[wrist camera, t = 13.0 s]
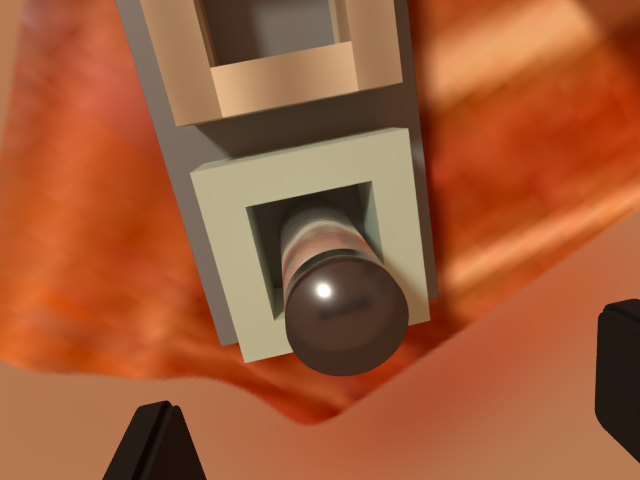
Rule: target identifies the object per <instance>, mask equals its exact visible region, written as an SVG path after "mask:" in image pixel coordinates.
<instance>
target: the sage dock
mask: <svg viewBox="0 0 640 480" xmlns="http://www.w3.org/2000/svg"><path fill="white" fill-rule="evenodd" d="M190 175H191V179H192V182H193V186H194V189H195V193H196V196H197V200H198V203H199V207H200V210H201V213H202V217H203V220H204V224H205V227H206V231H207V234H208V238H209V241H210V245H211V248H212V251H213V255H214V258H215V262H216V265H217V269H218V272H219V276H220V279H221V283H222V286H223V289H224V293H225V296H226V300H227V303H228V307H229V310H230V314H231V317H232V321H233V324H234V328H235V331H236V334H237V338H238V341H239V345H240V348H241V352H242V355H243V359H244V362H245V363H247V362H252V361H256V360H260V359H265V358H269V357H273V356H278V355H282V354H287V353H291V352H293V350H292V348H291V346H290V344H289V342H288V339H287V335H286V329H285V312H284V295H283V287H280V288H276V289H274V287H273V283H272V278H271V274H270V270H269V266H268V262H267V258H266V254H265V250H264V246H263V242H262V238H261V234H260V230H259V226H258V222H257V218H256V213H255V209H254V205H257V204H262V203H267V202H272V201H277V200H281V199H286V198H291V197H296V196H300V195H305V194H310V193H315V192H320V191H324V190H329V189H334V188H339V187H344V186H348V185H353V184H358V190H359V196H360V202H361V209H362V215H363V221H364V227H365V234H366V240H367V244H368V245H369V247H370V248H371V249H372V251H373V252H374V253H375V255H376V256H377V257H378V259H379V260H380V261H381V263H382V264H383V265H384V267H385V268H386V269H387V271H388V272H389V273H390V275H391V276H392V277H393V278H394V280H395V281H396V282H397V284H398V285H399V286H400V288H401V289H402V291H403V293H404V295H405V298H406V300H407V304H408V309H409V321H408V326H409V325H413V324H418V323H422V322H426V321H431V320H430V312H429V303H428V294H427V286H426V277H425V269H424V260H423V251H422V243H421V234H420V225H419V217H418V208H417V200H416V191H415V182H414V174H413V165H412V156H411V148H410V139H409V131H408V128H394V127H382V128H377V129H372V130H367V131H362V132H357V133H352V134H347V135H342V136H337V137H332V138H327V139H322V140H317V141H312V142H307V143H303V144H298V145H293V146H288V147H283V148H278V149H273V150H268V151H263V152H258V153H253V154H248V155H243V156H238V157H233V158H229V159H224V160H219V161H214V162H209V163H204V164H203V165H201V166H200V167H198V168H197V169H195V170H194V171H192V172H190Z"/></svg>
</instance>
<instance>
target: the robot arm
mask: <svg viewBox="0 0 640 480" xmlns="http://www.w3.org/2000/svg"><path fill="white" fill-rule="evenodd" d="M596 361H597V362H596V387H595V414H596V417H597V419H598V421H599V423H600V424H601V426H602V427H603V428H604V429H605V430H606V431H607V432H608V433H609V434H610V435H611V436H612V437H613V438H614V439H615V440H616V441H617V442H618V443H620V444H621V446H623V447H624V448H625V449H626V450H627V451H628V452H629V453H630V454H631V455H632V456H633V457H634V458H635V459H636V460H637V461H638V462H639V463H640V300H639V299H629V300H625V301H620V302H615V303H611V304H608V305H606V306H605V308H604V309H603V312H602V313H600V315H599V317H598V334H597V360H596ZM102 480H207V479H206V477H205V474H204V471H203V469H202V466H201V463H200V461H199V458H198V455H197V452H196V449H195V447H194V444H193V441H192V439H191V436H190V433H189V430H188V428H187V425H186V422H185V420H184V417H183V414H182V411H181V409H180V407H179V406H177V405H176V406H172V405H171V403H170V402H169V401H161V402H157V403H152V404H147V405H143V406H140V407H138V409H137V410H136V412H135V414H134V416H133V418H132V420H131V422H130V424H129V426H128V428H127V430H126V432H125V434H124V436H123V438H122V440H121V442H120V444H119V446H118V448H117V451H116V453H115V455H114V457H113V459H112V461H111V463H110V465H109V467H108V469H107V471H106V473H105V475H104V477H103V479H102Z"/></svg>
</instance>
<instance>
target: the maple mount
mask: <svg viewBox="0 0 640 480" xmlns="http://www.w3.org/2000/svg"><path fill="white" fill-rule="evenodd" d="M140 3H141V6H142V9H143V13H144V16H145V20H146V23H147V27H148V30H149V34H150V37H151V41H152V44H153V48H154V51H155V54H156V58H157V61H158V65H159V68H160V72H161V75H162V79H163V82H164V86H165V89H166V92H167V96H168V99H169V103H170V106H171V110H172V113H173V117H174V120H175V124H176V127H179V126H192V125H198V124H203V123H208V122H213V121H218V120H223V119H229V118H234V117H239V116H244V115H249V114H254V113H259V112H264V111H269V110H274V109H279V108H284V107H289V106H294V105H299V104H304V103H310V102H315V101H320V100H325V99H330V98H335V97H340V96H345V95H350V94H355V93H360V92H365V91H370V90H375V89H380V88H384V87H387V86H391V85H394V84H398V83H401V82H403V79H402V70H401V62H400V53H399V44H398V36H397V27H396V18H395V10H394V1H393V0H328V3H329V10H330V16H331V22H332V28H333V34H334V41H335V44H333V45H328V46H323V47H317V48H312V49H307V50H302V51H296V52H291V53H286V54H281V55H275V56H270V57H265V58H260V59H254V60H249V61H244V62H239V63H233V64H228V65H223V66H219V63H218V59H217V55H216V51H215V47H214V43H213V39H212V35H211V31H210V27H209V22H208V18H207V14H206V10H205V6H204V2H203V0H140Z"/></svg>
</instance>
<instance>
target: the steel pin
mask: <svg viewBox="0 0 640 480" xmlns="http://www.w3.org/2000/svg"><path fill="white" fill-rule="evenodd" d="M280 243H281V260H282V278H283V295H284V312H285V329H286V335H287V339H288V342H289V344H290V346H291V348H292V350H293V352H294V353H295V355H296V356H297V357H298V358H299V359H300V360H301V361H302V362H303V363H304V364H306V365H307V366H308V367H310V368H312V369H313V370H316V371H318V372H320V373H324V374H327V375H332V376H352V375H358V374H361V373H365V372H367V371H370V370H372V369H374V368H376V367H378V366H379V365H381V364H382V363H384V362H385V361H386V360H387V359H388V358H390V357H391V356H392V355H393V354H394V352H395V351H396V350H397V349H398V347H399V346H400V344H401V342H402V341H403V339H404V336H405V334H406V331H407V327H408V321H409V309H408V304H407V300H406V298H405V295H404V293H403V291H402V289H401V288H400V286H399V285H398V284H397V282H396V281H395V280H394V278H393V277H392V276H391V275H390V273H389V272H388V271H387V269H386V268H385V267H384V265H383V264H382V263H381V261H380V260H379V259H378V257H377V256H376V255H375V253H374V252H373V251H372V249H371V248H370V247H369V245H368V244H367V243H366V241H365V240H364V239H363V237H362V236H361V235H360V233H359V232H358V231H357V229H356V228H355V227H354V225H353V224H352V223H351V221H350V220H349V219H348V217H347V216H346V215H345V213H344V212H343V211H342V210H341V208H340V207H339V206H338V205H337V204H335V203H334V202H332V201H331V200H328V199H326V198H322V197H308V198H304V199H302V200H299V201H297V202H296V203H294V204H293V205H292V206H291V207H290V208H289V209H288V210H287V211H286V213H285V214H284V216H283V218H282V221H281V225H280Z"/></svg>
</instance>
